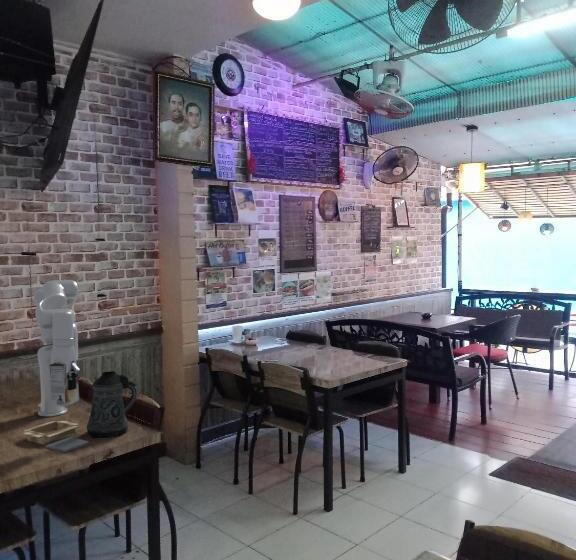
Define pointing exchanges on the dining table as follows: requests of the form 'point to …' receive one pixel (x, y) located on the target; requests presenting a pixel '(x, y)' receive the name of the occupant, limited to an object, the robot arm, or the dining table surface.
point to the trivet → (67, 444)
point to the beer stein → (110, 406)
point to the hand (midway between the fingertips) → (64, 388)
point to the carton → (50, 432)
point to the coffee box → (62, 386)
